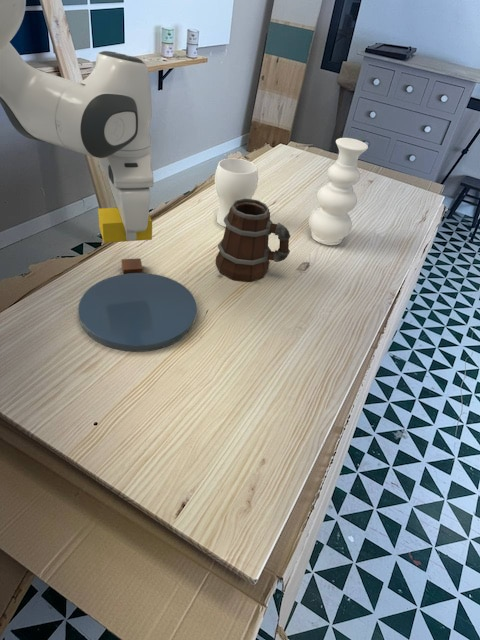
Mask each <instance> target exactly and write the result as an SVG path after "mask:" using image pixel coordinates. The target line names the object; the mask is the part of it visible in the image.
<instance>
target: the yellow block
mask: <svg viewBox="0 0 480 640" xmlns="http://www.w3.org/2000/svg"><path fill="white" fill-rule="evenodd" d="M97 211H98V212H97V213H98V227H99V231H100V234H101V238H102V242H103V244H106V243H107V244H108V243H122V242H123V243H124V242H128V241H127V239H126V236H125V227H124V224H123V222H122V219H121V216H120V213H119V210H118V207H102V208H101V207H100V208H98V209H97ZM152 240H153V220H152V217H151V215H150V214H149V218H148V226H147V228H146V230H145V231H142V232H136V240H134V241H133V242H136V241H139V242H140V241H152Z"/></svg>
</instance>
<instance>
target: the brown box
mask: <svg viewBox="0 0 480 640" xmlns="http://www.w3.org/2000/svg"><path fill="white" fill-rule="evenodd" d="M120 261H121V262H120V263H121V270H122V271H121V272H122V274H128V273H144V268H143V264H142V259H141V257H140V258H139V257H138V258H121V260H120Z"/></svg>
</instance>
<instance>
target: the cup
mask: <svg viewBox="0 0 480 640" xmlns="http://www.w3.org/2000/svg"><path fill="white" fill-rule="evenodd" d="M258 169H259V168H258V166H257V165H256V164H255V163H253V162H252V161H249V160H246V159H242V158H236V157H232V158H224V159H221V160H220V161H218V164H217V167H216V170H215V173H214V185H215V192H216V194H217V196H218V200H219V209H218V212H217V216H216V223H218V225H220V226H222V227H224V228H226V224H225V222H224V218H225V217H226V215H227V214H228V213H229V210H230V208H231V206H232V205H233V203H234V202H235V201H236V200H241V199H253V197H254V195H255V193H256V190H257V188H258V182H259V171H258Z"/></svg>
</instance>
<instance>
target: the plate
mask: <svg viewBox="0 0 480 640" xmlns="http://www.w3.org/2000/svg"><path fill="white" fill-rule="evenodd" d="M77 309H78V320H79V323H80V325H81V327H82V329H83V331H84V332H85V333H86V335H88V336H89V337H90V338H91V339H93V340H94V341H95V342H97V343H99V344H100V345H102V346H105V347H108V348H111V349H114V350H119V351H125V352H147V351H149V352H150V351H154V350H159V349H163V348H166V347H169V346H171V345H173V344H176V343H178V342H179V341H181V340H182V339H184V338H185V337H186V336H187V335H188V334H189V333H190V332H191V331H192V329H193V328H194V326H195V324H196V321H197V314H198V305H197V301H196V298H195V297H194V295H193V294H192V292H191V291H190V290H189V289H188V288H187V287H186V286H184V285H183V284H181V283H180V282H178V281H176V280H175V279H173V278H170V277H167V276H165V275H160V274H155V273H147V272H143V273H128V274H123V273H121V274H117V275H112V276H110V277H107V278H104V279H102V280H100V281H98V282H96V283H95V284H93V285H92V286H91V287H90V288H88V289H87V290H86V291H85V292H84V294H83V295H82V296H81V298H80V300H79V303H78V308H77Z"/></svg>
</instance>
